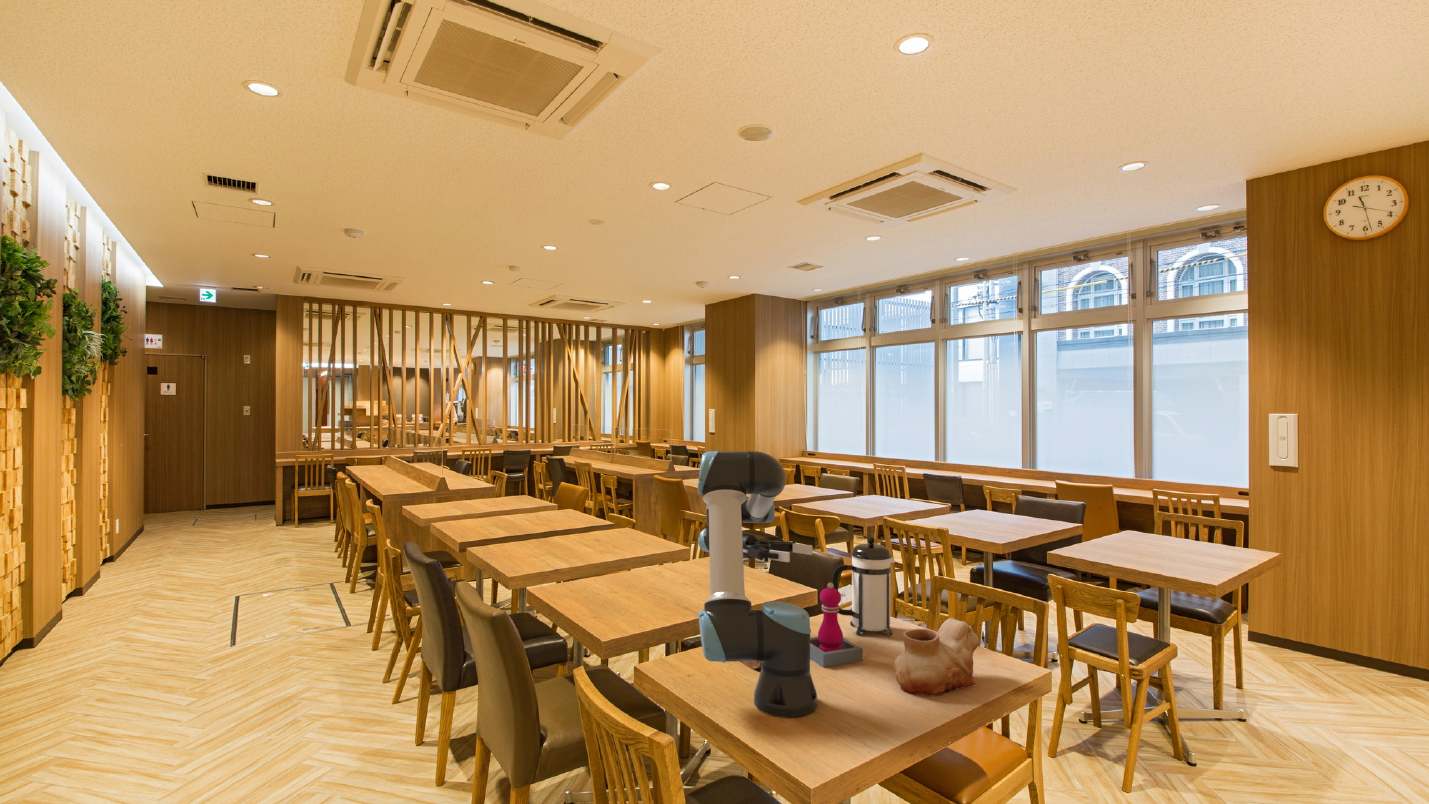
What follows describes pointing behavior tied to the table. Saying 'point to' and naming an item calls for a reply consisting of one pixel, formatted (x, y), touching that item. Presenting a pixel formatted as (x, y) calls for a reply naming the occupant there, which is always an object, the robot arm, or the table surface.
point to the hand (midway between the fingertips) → (800, 553)
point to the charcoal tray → (835, 653)
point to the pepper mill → (830, 620)
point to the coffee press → (869, 587)
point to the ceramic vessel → (937, 659)
